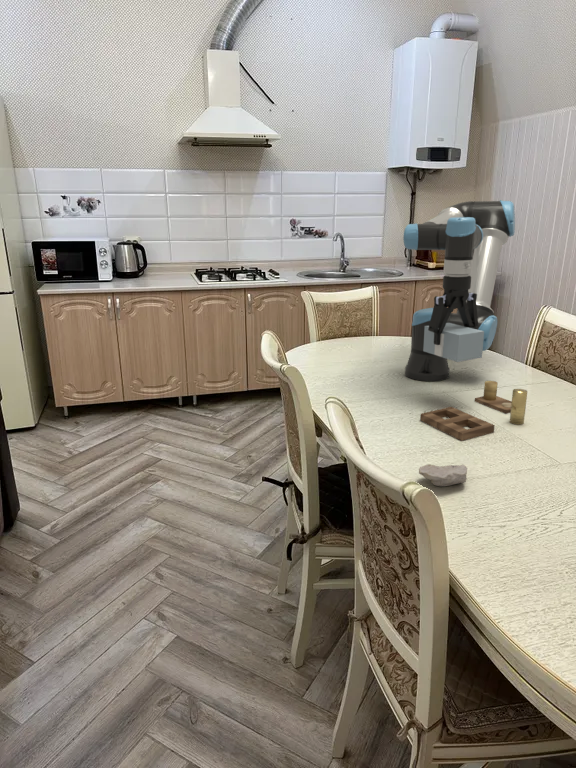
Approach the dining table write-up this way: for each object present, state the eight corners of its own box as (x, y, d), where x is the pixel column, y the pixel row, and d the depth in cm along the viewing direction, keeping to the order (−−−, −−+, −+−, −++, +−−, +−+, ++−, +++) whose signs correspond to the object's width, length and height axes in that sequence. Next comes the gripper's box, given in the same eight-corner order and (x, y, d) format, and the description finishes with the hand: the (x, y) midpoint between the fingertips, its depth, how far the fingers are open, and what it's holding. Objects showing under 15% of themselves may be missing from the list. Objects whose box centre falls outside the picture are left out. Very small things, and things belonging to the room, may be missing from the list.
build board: (420, 420, 153) (420, 413, 152) (450, 413, 157) (451, 406, 157) (461, 440, 139) (462, 433, 138) (493, 432, 144) (494, 425, 143)
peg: (506, 421, 151) (509, 390, 148) (516, 418, 152) (519, 387, 149) (517, 425, 147) (520, 393, 145) (526, 423, 149) (530, 391, 146)
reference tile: (474, 401, 166) (476, 382, 164) (491, 397, 169) (493, 378, 167) (505, 413, 156) (508, 393, 154) (523, 409, 159) (525, 389, 157)
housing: (423, 351, 165) (424, 326, 162) (447, 347, 169) (448, 322, 166) (457, 362, 153) (459, 335, 150) (481, 357, 157) (484, 331, 154)
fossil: (410, 466, 120) (449, 443, 122) (421, 490, 122) (458, 467, 123) (430, 481, 112) (471, 457, 113) (441, 506, 114) (481, 482, 115)
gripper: (435, 279, 146) (431, 361, 153) (496, 273, 155) (489, 350, 162) (417, 276, 152) (413, 355, 159) (476, 271, 162) (470, 345, 169)
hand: (451, 353), depth 161 cm, fingers closed on housing, 9 cm apart
